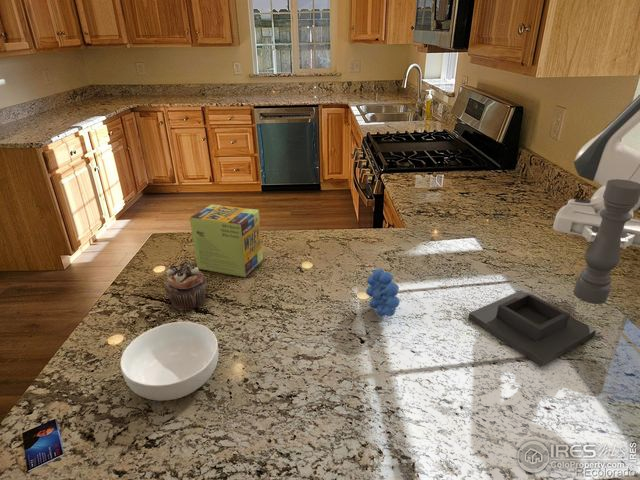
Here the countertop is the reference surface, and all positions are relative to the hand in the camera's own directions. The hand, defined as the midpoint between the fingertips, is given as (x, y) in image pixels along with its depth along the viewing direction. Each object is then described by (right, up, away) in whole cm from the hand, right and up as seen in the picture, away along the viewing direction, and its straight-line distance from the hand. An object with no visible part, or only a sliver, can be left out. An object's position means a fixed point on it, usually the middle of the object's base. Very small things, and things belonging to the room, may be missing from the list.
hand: (606, 242), depth 84 cm
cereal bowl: (-84, -26, -5) cm, 88 cm away
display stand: (-12, -18, +8) cm, 23 cm away
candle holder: (+1, -12, +6) cm, 13 cm away
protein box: (-82, -7, +35) cm, 89 cm away
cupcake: (-89, -14, +18) cm, 92 cm away
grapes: (-42, -17, +13) cm, 47 cm away
